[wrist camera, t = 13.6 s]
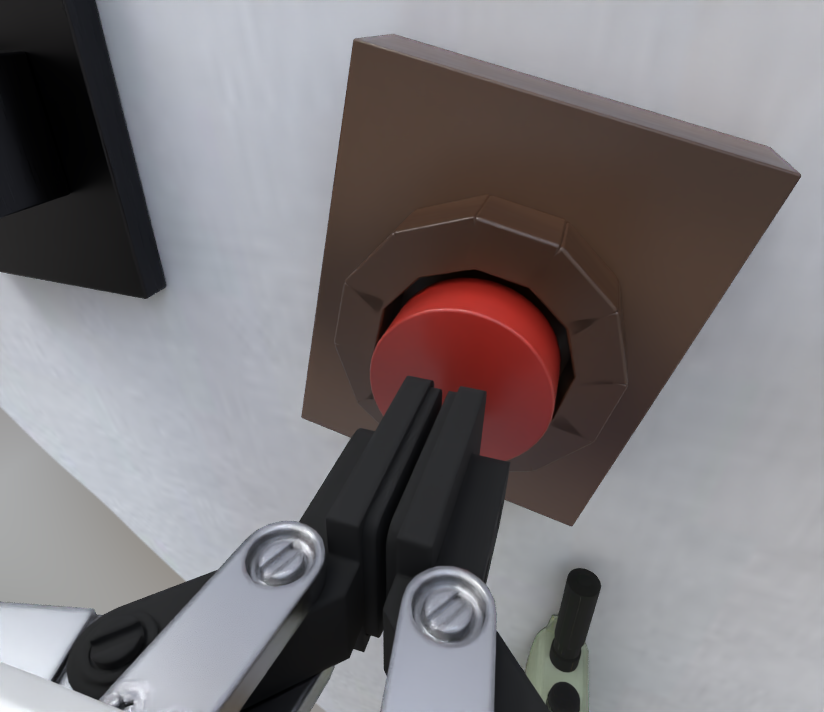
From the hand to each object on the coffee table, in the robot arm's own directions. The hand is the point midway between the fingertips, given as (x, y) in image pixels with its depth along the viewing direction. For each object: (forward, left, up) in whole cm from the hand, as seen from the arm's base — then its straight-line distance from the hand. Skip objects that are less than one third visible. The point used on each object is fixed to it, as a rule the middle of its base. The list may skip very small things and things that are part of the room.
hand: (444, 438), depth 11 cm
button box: (0, 0, -7) cm, 7 cm away
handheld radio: (+17, +17, -8) cm, 25 cm away
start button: (0, 0, -3) cm, 3 cm away
